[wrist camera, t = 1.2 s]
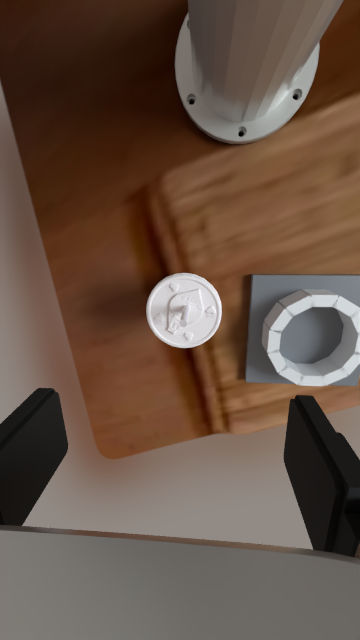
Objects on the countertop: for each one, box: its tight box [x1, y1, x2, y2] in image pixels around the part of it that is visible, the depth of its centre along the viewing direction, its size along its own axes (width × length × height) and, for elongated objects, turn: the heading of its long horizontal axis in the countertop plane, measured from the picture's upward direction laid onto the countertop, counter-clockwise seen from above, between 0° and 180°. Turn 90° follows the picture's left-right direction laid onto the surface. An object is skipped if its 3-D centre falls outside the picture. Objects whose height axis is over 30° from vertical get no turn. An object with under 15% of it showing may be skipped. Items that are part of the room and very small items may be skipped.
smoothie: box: [146, 273, 222, 348], centre depth 25 cm, size 6×6×14 cm
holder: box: [245, 274, 360, 386], centre depth 30 cm, size 13×13×4 cm
